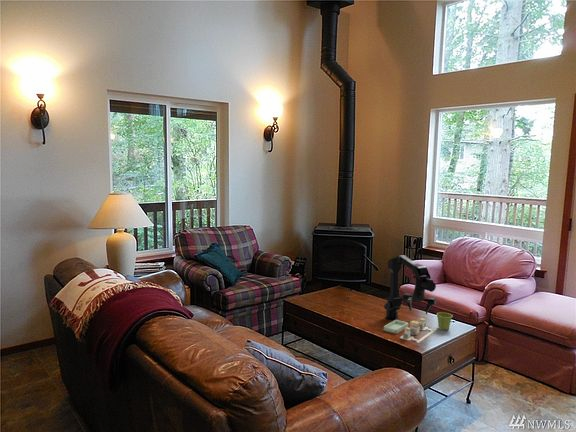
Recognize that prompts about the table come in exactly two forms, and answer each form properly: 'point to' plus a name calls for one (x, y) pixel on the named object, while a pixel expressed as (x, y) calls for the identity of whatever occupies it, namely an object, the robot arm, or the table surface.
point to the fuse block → (412, 332)
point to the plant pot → (444, 320)
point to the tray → (395, 326)
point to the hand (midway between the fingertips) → (418, 312)
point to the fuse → (415, 326)
